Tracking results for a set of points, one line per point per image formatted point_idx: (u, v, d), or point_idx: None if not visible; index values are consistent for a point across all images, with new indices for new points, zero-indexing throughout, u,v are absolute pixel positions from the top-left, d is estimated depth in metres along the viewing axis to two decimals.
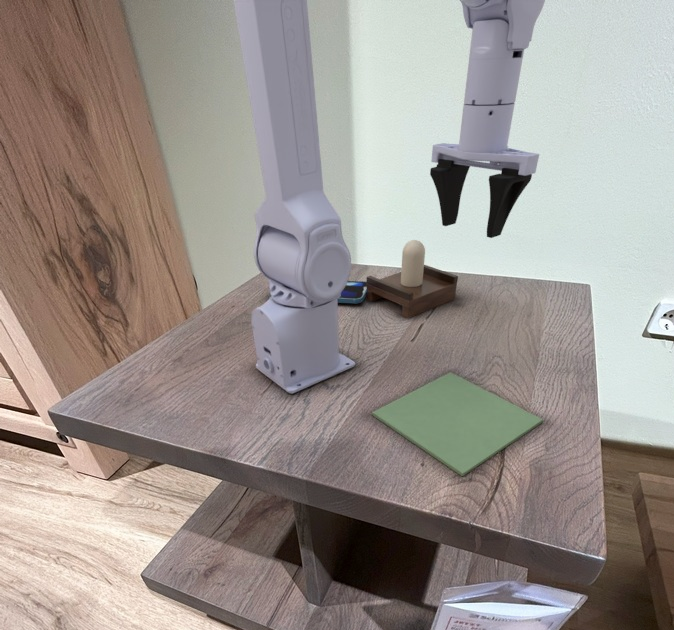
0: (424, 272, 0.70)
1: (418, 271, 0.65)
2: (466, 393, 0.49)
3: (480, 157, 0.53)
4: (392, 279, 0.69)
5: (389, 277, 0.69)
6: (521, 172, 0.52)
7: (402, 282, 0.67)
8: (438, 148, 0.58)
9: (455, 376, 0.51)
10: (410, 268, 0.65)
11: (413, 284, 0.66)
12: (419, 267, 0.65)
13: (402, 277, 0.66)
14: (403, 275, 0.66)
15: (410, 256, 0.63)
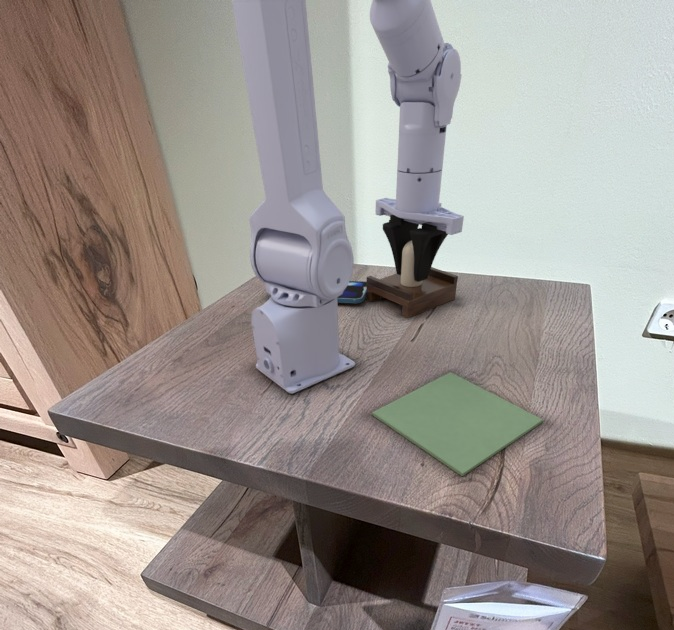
0: None
1: None
2: (466, 393, 0.49)
3: (413, 217, 0.59)
4: (392, 279, 0.69)
5: (389, 277, 0.69)
6: (448, 232, 0.57)
7: (402, 282, 0.67)
8: (380, 203, 0.64)
9: (455, 376, 0.51)
10: (410, 268, 0.65)
11: (413, 284, 0.66)
12: None
13: (402, 277, 0.66)
14: (403, 275, 0.66)
15: (410, 256, 0.64)
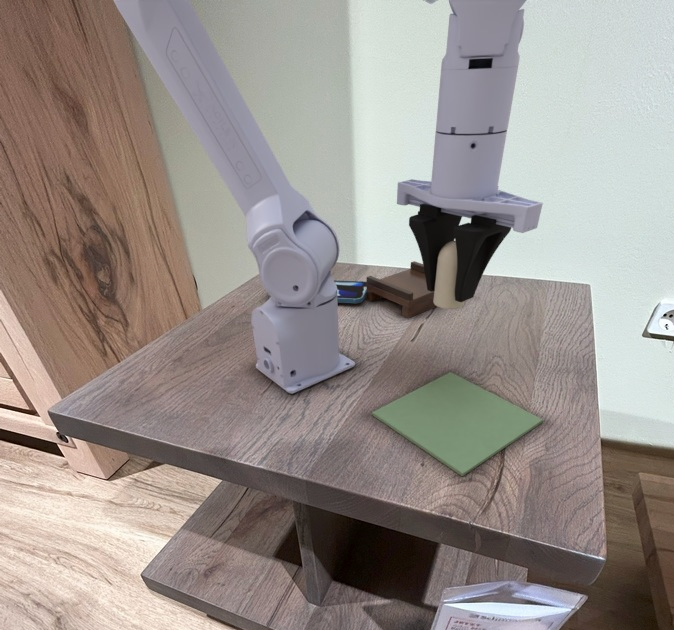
0: (424, 272, 0.70)
1: None
2: (466, 393, 0.49)
3: (460, 205, 0.38)
4: (392, 279, 0.69)
5: (389, 277, 0.69)
6: (517, 228, 0.37)
7: (436, 302, 0.46)
8: (405, 187, 0.43)
9: (455, 376, 0.51)
10: (449, 282, 0.44)
11: (453, 305, 0.45)
12: None
13: (436, 295, 0.46)
14: (438, 292, 0.45)
15: (451, 265, 0.43)
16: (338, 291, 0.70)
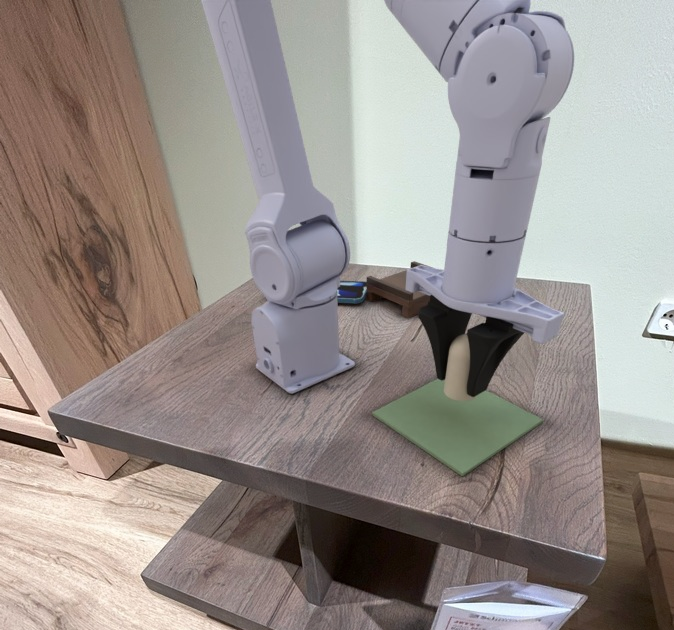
0: None
1: None
2: None
3: (474, 309, 0.35)
4: (392, 279, 0.69)
5: (389, 277, 0.69)
6: (536, 339, 0.34)
7: (447, 392, 0.43)
8: (414, 276, 0.41)
9: None
10: (462, 376, 0.41)
11: (465, 397, 0.43)
12: None
13: (447, 386, 0.43)
14: (449, 384, 0.42)
15: (464, 360, 0.40)
16: (338, 291, 0.70)
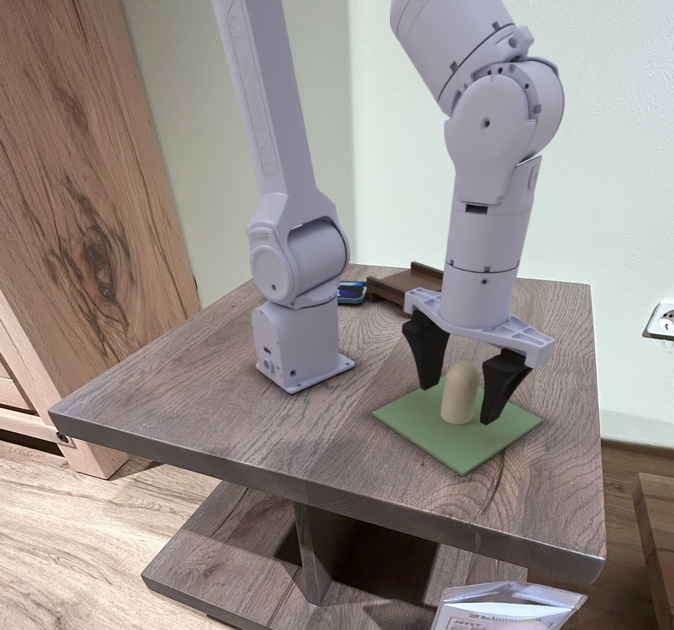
0: (424, 272, 0.70)
1: (469, 405, 0.43)
2: None
3: (469, 334, 0.37)
4: (392, 279, 0.69)
5: (389, 277, 0.69)
6: (529, 364, 0.35)
7: (443, 416, 0.45)
8: (412, 299, 0.42)
9: None
10: (457, 401, 0.43)
11: (460, 421, 0.44)
12: (470, 400, 0.43)
13: (444, 410, 0.45)
14: (446, 408, 0.44)
15: (459, 387, 0.42)
16: (338, 291, 0.70)
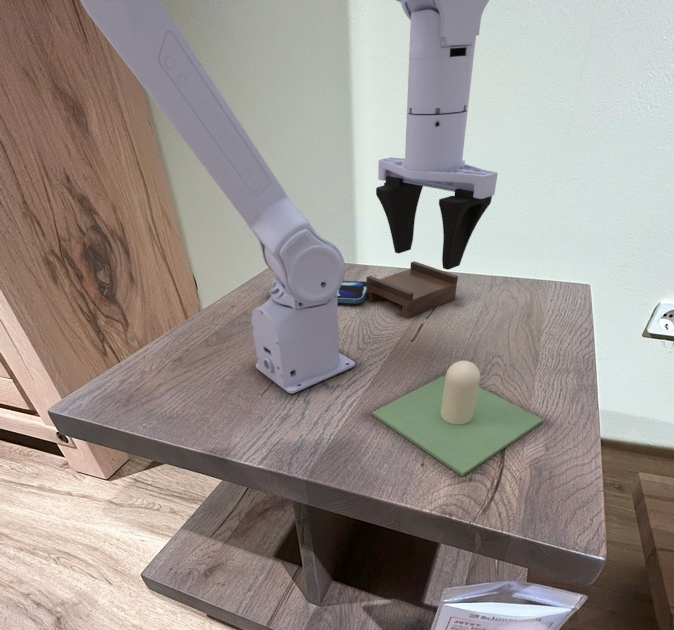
0: (424, 272, 0.70)
1: (469, 405, 0.43)
2: None
3: (428, 176, 0.44)
4: (392, 279, 0.69)
5: (389, 277, 0.69)
6: (476, 195, 0.43)
7: (443, 416, 0.45)
8: (384, 164, 0.49)
9: None
10: (457, 401, 0.43)
11: (460, 421, 0.44)
12: (470, 400, 0.43)
13: (444, 410, 0.45)
14: (446, 408, 0.44)
15: (459, 387, 0.42)
16: (338, 291, 0.70)
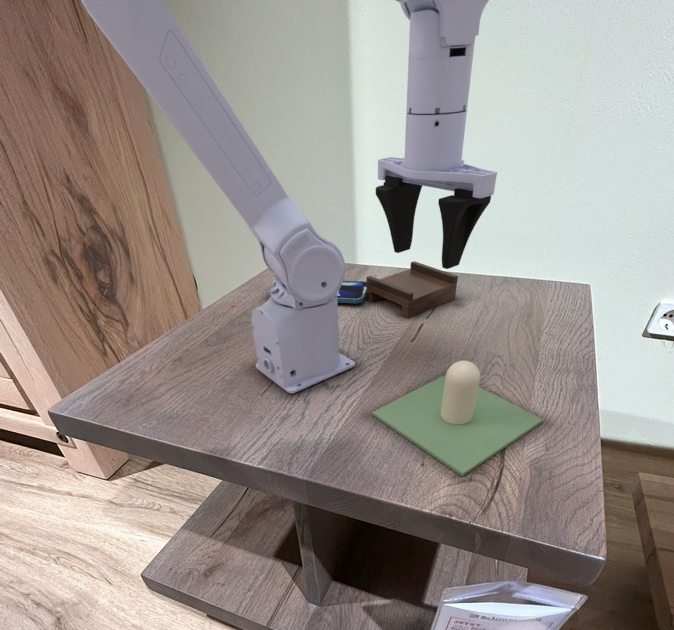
0: (424, 272, 0.70)
1: (469, 405, 0.43)
2: None
3: (427, 176, 0.44)
4: (392, 279, 0.69)
5: (389, 277, 0.69)
6: (476, 194, 0.43)
7: (443, 416, 0.45)
8: (384, 164, 0.50)
9: None
10: (457, 401, 0.43)
11: (460, 421, 0.44)
12: (470, 400, 0.43)
13: (444, 410, 0.45)
14: (446, 408, 0.44)
15: (459, 387, 0.42)
16: (338, 291, 0.70)
